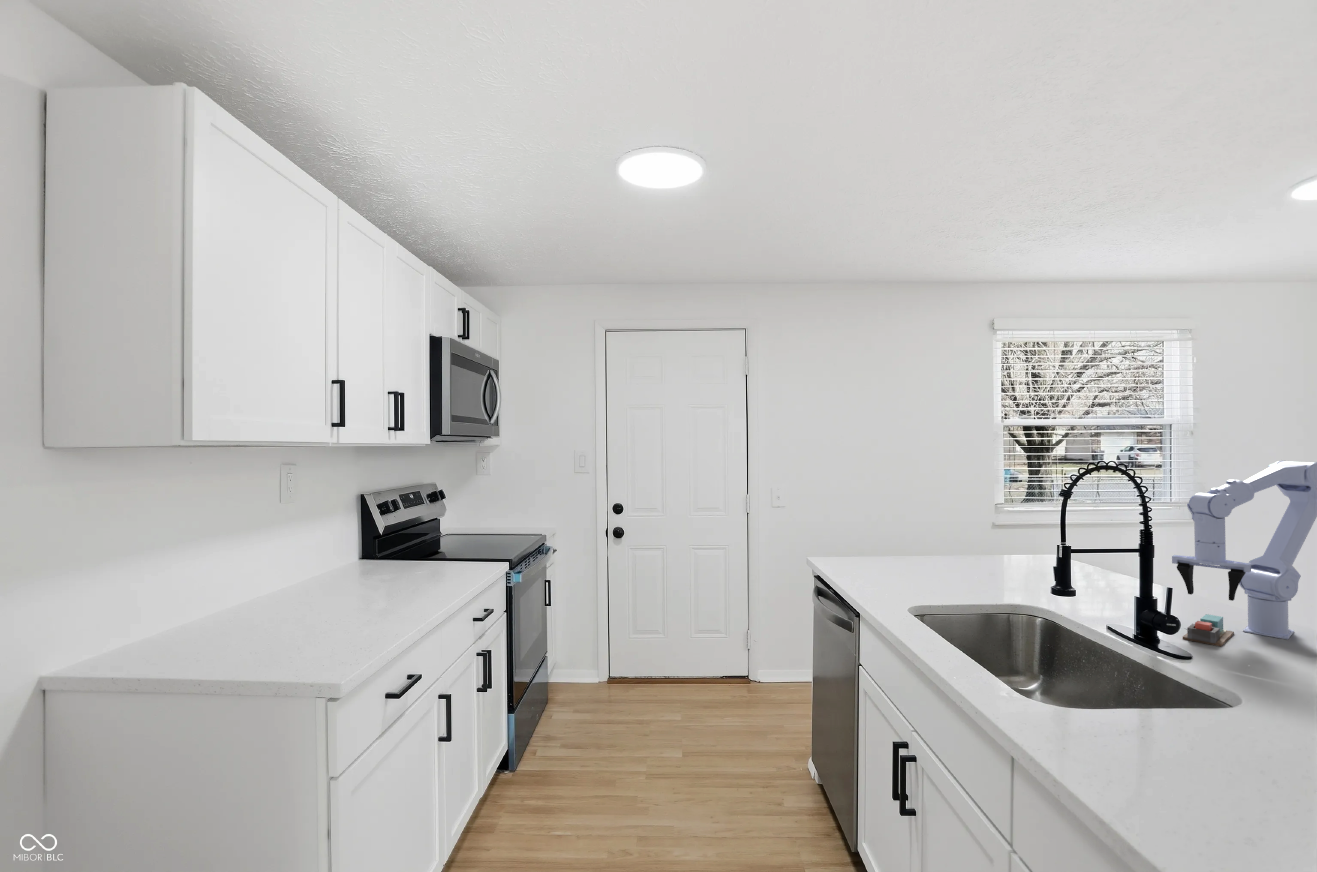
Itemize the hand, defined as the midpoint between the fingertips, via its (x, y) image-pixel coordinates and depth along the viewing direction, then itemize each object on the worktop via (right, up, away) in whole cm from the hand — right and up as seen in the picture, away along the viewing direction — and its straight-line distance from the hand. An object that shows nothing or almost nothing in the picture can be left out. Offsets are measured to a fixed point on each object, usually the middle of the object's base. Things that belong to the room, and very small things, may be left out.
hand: (1210, 596), depth 153 cm
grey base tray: (-2, -9, -2) cm, 10 cm away
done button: (-6, -7, -5) cm, 11 cm away
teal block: (+1, -9, +1) cm, 9 cm away
